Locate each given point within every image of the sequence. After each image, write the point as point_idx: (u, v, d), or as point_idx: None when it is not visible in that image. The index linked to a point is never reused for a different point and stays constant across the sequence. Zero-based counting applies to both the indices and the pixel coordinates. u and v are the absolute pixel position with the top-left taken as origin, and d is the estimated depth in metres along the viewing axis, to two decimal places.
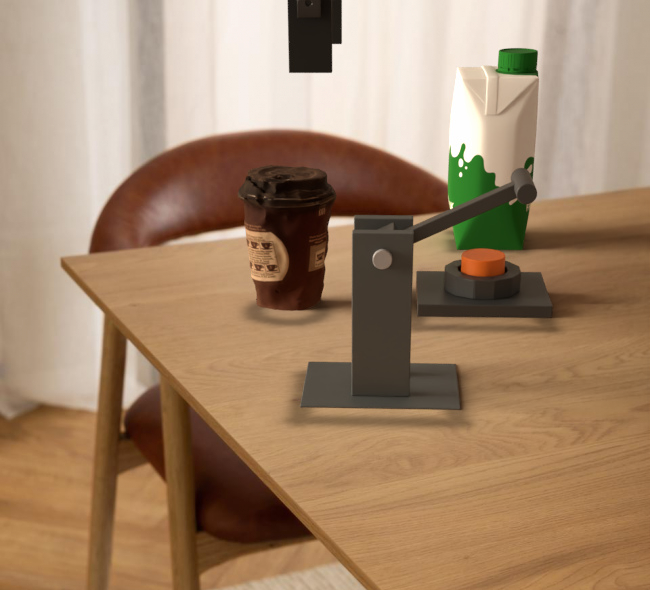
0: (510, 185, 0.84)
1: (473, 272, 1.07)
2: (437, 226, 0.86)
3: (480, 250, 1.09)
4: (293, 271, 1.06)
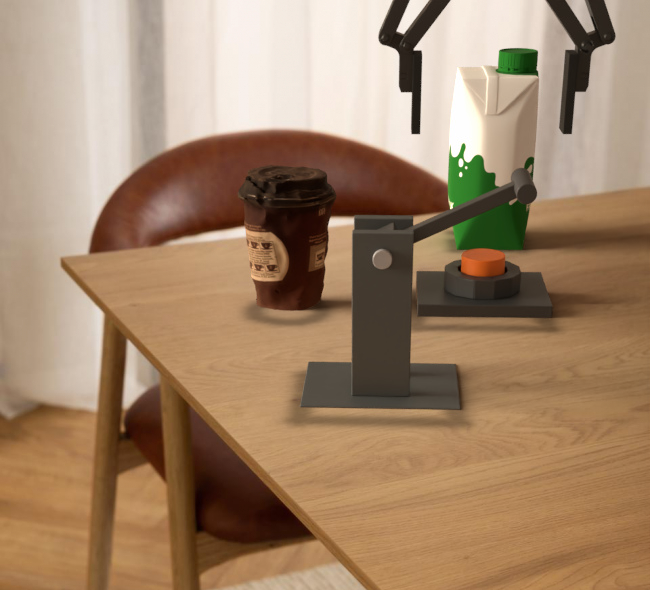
0: (510, 185, 0.84)
1: (473, 272, 1.07)
2: (437, 226, 0.86)
3: (480, 250, 1.09)
4: (293, 271, 1.06)
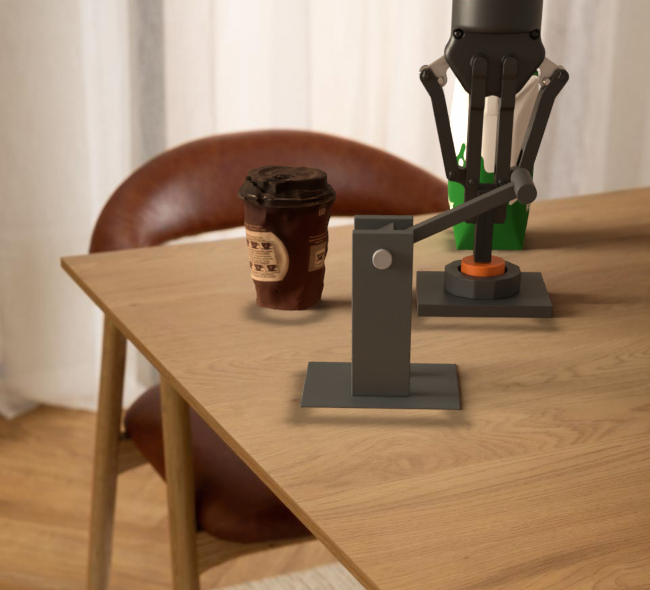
0: (510, 185, 0.84)
1: None
2: (437, 226, 0.86)
3: None
4: (293, 271, 1.06)
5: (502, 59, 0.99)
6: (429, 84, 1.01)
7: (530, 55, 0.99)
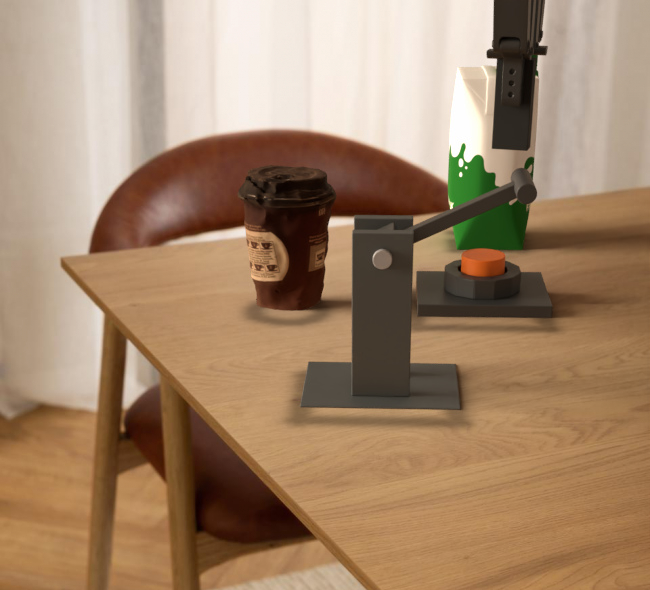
0: (510, 185, 0.84)
1: (473, 272, 1.07)
2: (437, 226, 0.86)
3: (480, 250, 1.09)
4: (293, 271, 1.06)
5: None
6: None
7: None
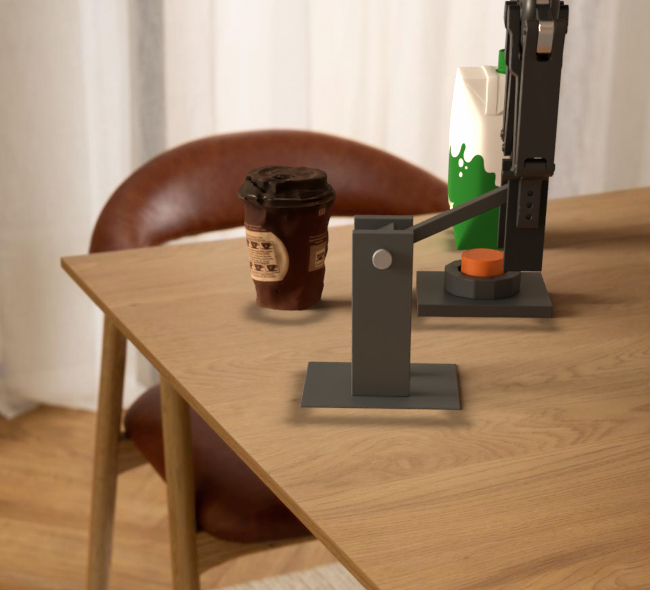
0: None
1: (473, 272, 1.07)
2: (437, 226, 0.86)
3: (480, 250, 1.09)
4: (293, 271, 1.06)
5: None
6: None
7: None
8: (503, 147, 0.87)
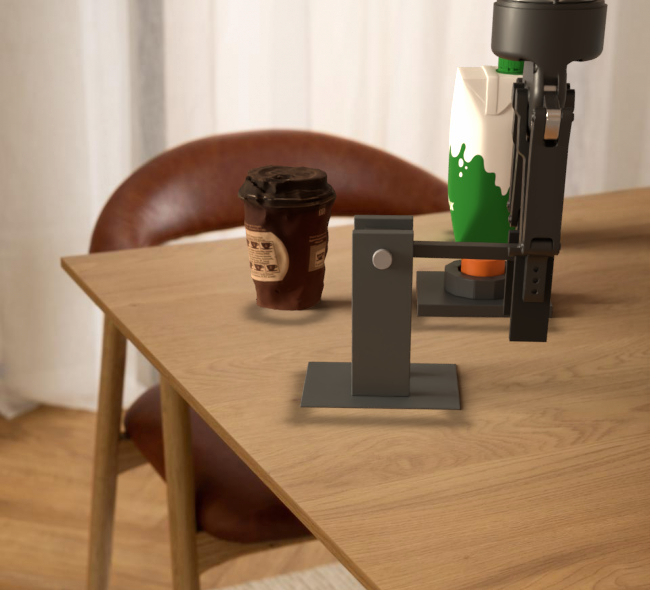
0: None
1: (473, 272, 1.07)
2: (441, 252, 0.87)
3: None
4: (293, 271, 1.06)
5: None
6: None
7: None
8: (509, 219, 0.89)
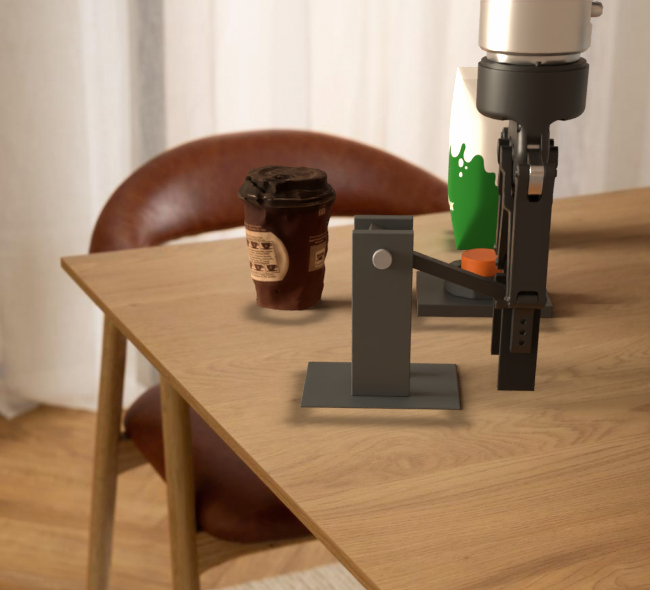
0: None
1: (473, 272, 1.07)
2: (437, 270, 0.87)
3: (480, 250, 1.09)
4: (293, 271, 1.06)
5: None
6: None
7: None
8: (496, 262, 0.92)
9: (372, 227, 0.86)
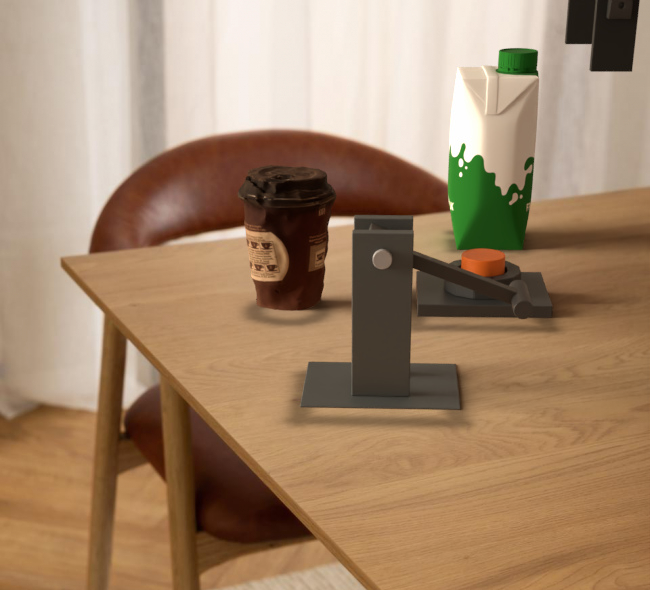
0: (513, 291, 0.88)
1: (473, 272, 1.07)
2: (437, 270, 0.87)
3: (480, 250, 1.09)
4: (293, 271, 1.06)
5: None
6: None
7: None
8: None
9: (372, 227, 0.86)
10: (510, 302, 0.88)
